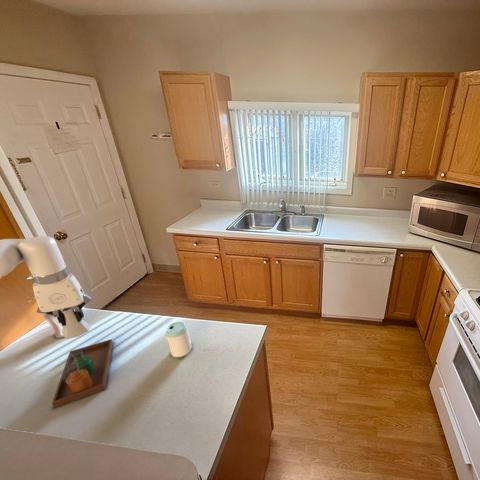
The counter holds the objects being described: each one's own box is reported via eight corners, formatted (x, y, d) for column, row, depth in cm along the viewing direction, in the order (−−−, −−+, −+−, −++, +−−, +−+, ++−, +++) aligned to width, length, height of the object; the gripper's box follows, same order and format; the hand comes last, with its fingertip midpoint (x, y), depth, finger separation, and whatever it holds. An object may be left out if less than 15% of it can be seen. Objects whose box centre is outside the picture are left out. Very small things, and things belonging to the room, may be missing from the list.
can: (174, 361, 93) (167, 337, 89) (169, 349, 98) (162, 325, 93) (194, 351, 98) (189, 327, 93) (188, 340, 102) (183, 317, 98)
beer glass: (66, 339, 101) (51, 309, 95) (48, 338, 101) (32, 308, 95) (81, 326, 107) (68, 297, 101) (65, 325, 107) (51, 296, 101)
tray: (105, 389, 83) (103, 384, 82) (54, 407, 77) (51, 403, 76) (113, 342, 100) (111, 339, 99) (72, 355, 94) (70, 351, 93)
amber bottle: (69, 397, 79) (58, 377, 75) (73, 384, 83) (63, 364, 79) (91, 390, 82) (81, 369, 78) (94, 377, 86) (84, 357, 82)
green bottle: (74, 381, 84) (64, 361, 80) (78, 369, 88) (68, 349, 84) (94, 374, 87) (85, 354, 83) (97, 363, 91) (88, 344, 87)
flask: (90, 321, 93) (80, 298, 89) (92, 331, 88) (82, 308, 84) (62, 330, 88) (51, 307, 84) (63, 342, 83) (52, 318, 79)
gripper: (8, 288, 72) (35, 337, 79) (84, 274, 80) (102, 320, 87) (19, 276, 78) (43, 322, 85) (88, 264, 86) (105, 307, 93)
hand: (72, 320), depth 86 cm, fingers closed on flask, 3 cm apart
